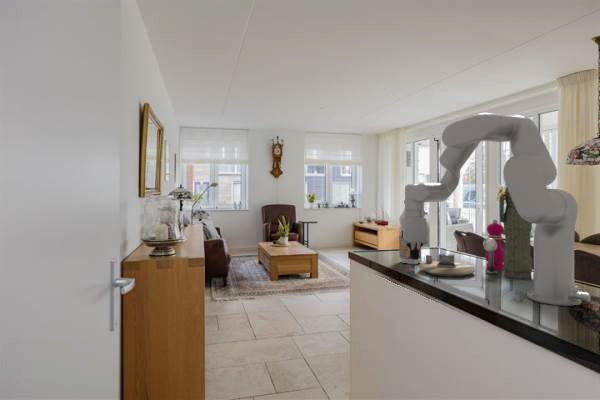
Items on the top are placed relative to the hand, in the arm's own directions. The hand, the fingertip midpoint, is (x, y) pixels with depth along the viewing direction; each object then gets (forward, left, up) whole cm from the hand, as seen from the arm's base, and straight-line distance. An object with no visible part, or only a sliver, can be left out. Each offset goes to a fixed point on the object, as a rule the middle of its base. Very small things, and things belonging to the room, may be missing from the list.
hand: (414, 259), depth 150 cm
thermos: (-30, -21, -4) cm, 37 cm away
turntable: (-11, -6, -3) cm, 13 cm away
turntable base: (-11, -6, -4) cm, 13 cm away
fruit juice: (+11, -9, -4) cm, 14 cm away
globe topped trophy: (-21, -19, -4) cm, 28 cm away
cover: (-11, -5, -2) cm, 13 cm away
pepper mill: (-16, -29, -4) cm, 33 cm away
